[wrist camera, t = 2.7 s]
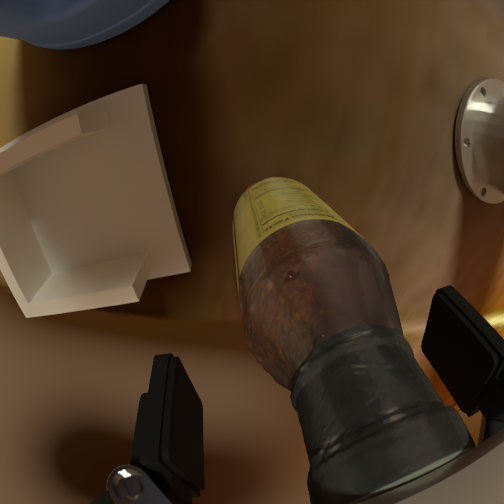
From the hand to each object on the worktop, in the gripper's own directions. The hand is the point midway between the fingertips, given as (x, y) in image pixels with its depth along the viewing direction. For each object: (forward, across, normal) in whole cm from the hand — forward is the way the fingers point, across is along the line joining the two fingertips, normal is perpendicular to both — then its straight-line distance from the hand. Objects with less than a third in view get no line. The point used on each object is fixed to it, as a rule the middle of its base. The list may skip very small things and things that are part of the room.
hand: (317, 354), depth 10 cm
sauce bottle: (+14, -1, 0) cm, 14 cm away
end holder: (+14, +14, -4) cm, 20 cm away
